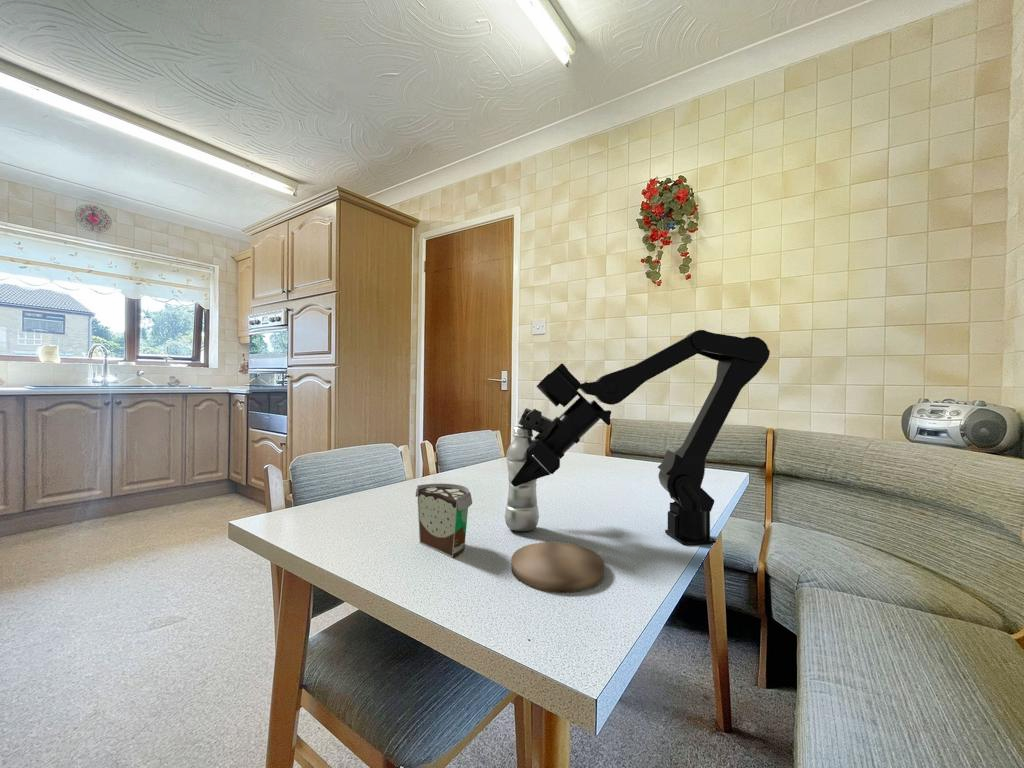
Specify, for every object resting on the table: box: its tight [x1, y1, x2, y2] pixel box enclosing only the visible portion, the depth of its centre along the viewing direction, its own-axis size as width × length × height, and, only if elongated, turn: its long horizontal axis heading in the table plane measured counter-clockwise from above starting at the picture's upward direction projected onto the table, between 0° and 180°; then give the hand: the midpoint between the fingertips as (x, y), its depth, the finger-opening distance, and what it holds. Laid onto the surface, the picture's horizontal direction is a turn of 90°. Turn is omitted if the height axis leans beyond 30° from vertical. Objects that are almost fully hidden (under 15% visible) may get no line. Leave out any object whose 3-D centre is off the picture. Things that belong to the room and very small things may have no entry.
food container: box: [415, 482, 473, 559], centre depth 70 cm, size 12×6×10 cm, turn 47°
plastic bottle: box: [504, 425, 540, 532], centre depth 78 cm, size 6×7×20 cm
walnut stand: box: [510, 541, 606, 593], centre depth 61 cm, size 14×14×2 cm
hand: (515, 479), depth 79 cm, fingers open, 9 cm apart
